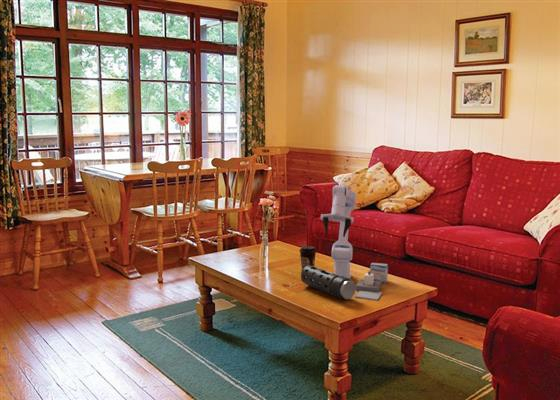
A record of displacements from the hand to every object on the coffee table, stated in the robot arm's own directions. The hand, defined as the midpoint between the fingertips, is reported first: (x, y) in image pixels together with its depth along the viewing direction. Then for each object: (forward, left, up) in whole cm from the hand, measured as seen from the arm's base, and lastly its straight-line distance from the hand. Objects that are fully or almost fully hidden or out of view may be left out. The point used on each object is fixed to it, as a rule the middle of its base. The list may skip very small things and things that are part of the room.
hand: (335, 234), depth 238 cm
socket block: (-16, +12, -28) cm, 35 cm away
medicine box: (-29, +14, -28) cm, 43 cm away
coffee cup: (-31, -23, -28) cm, 48 cm away
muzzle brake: (-3, -4, -29) cm, 29 cm away
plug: (-16, +12, -28) cm, 35 cm away
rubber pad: (-7, +14, -28) cm, 32 cm away
